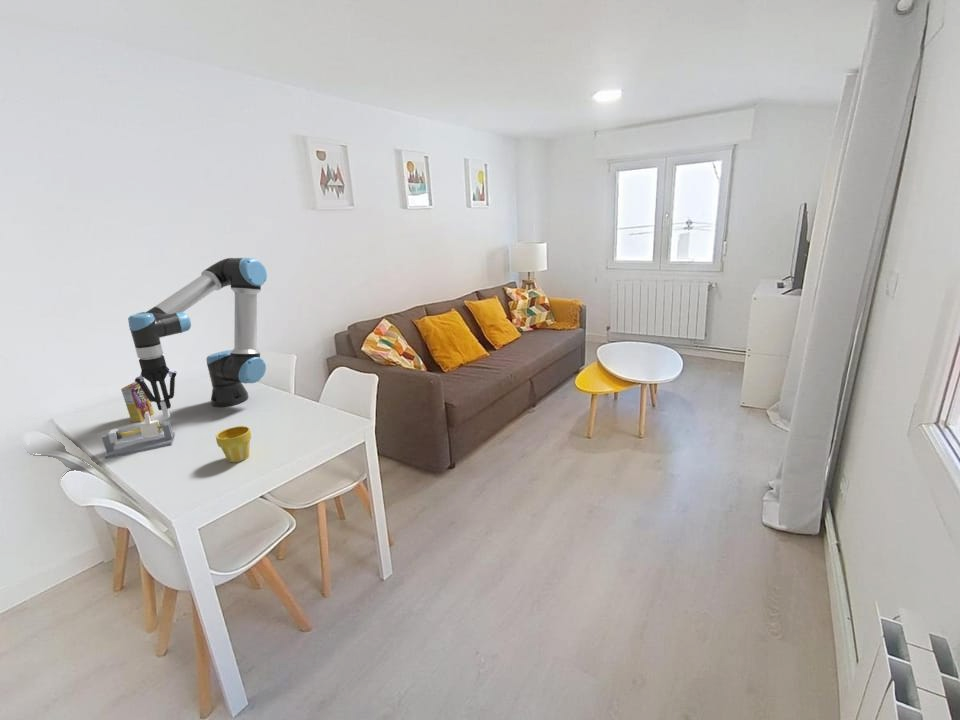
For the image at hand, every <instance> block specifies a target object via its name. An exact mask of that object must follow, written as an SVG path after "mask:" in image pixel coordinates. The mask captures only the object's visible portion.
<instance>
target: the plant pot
mask: <svg viewBox="0 0 960 720" xmlns="http://www.w3.org/2000/svg"><path fill="white" fill-rule="evenodd" d="M251 439H252V433H251V429H250V427H248V426H246V425H245V426H244V425H241V426H233V427H228V428H226V429H223V430H221V431H219V432H218V433H217V434H216V435H215V440H216V444H217V447H219V448H220V449H221V451H222V452H223V454H224V455H225V458H226V460H227V461H228V462H230V463H240V462H243V461H245V460H247V459H248V458H249V457H250V442H251Z"/></svg>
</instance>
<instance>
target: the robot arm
mask: <svg viewBox="0 0 960 720" xmlns="http://www.w3.org/2000/svg"><path fill="white" fill-rule="evenodd" d="M267 278H268V272H267V269H266V267H265V266H264V264H263V263H262V262H261V261H260V260H259V259H257V258H254V257H253V258H252V257H251V258H250V257H228V258H223V259H221V260H219V261H217V262H215V263H214V264H212V265H210V266H208V267H207V268H206V269H204V270H203V271H201V275H200V276H198V277H197V278H195V279H193V280H192V281H191V282H190V283H188V284H186V285H185V286H184V287H182V288H180V289H179V290H178V291H176V292H174V293H173V294H171V295H170V296H167V298H165V299H164V300H163V301H161V302H159V303H158V304H155V306H153V307H151V308H150V309H148V310H147V311H142V312H138V313H136V314H132V315H129V317H128V327H129V330H130V334H131V337H132V340H133V344H134V347H135V351H136V354H137V355H136V356H137V358H138V359H139V360H138V362H139V366H140V370H141V372H140V375H139V376H137V377H135V378H134V382H137V383H138V384H139V385H140V386H141V388H142V390H143V391H144V393H145V394H146V396H147V398H148V399H149V401H150V402H151V403H153V402H154V403H156V405H157V409H158V411H162V415H163V419H170V416H171V414H170V413H171V412H170V411H169V410H170V409H171V406H172V405H171V401H170V400H171V399H173V398H174V396H175V386H176V385H175V384H176V376H177V374H178V371H175V370H174V371H173V370H170V368H168V366H167V363H166V359H165V356H164V355H163V354H164V351H163V348H162V343H161V338H164V337H168V336H173V335H177V334H182V333H184V332H187V331H189V330H190V329H191V327H192V322H191V321H192V320H191V318H190V317H189V315H188V314H187V313H186V312H185V311H186V310H188V309H189V308H191V307H193V306H194V305H196V304H197V303H199V301H201V300H203V299H204V298H205V297H207V296H208V295H210V294H211V293H212V292H214V291H220V290H221V289H222V288H225V287H228V286H230V290H232V291H233V293H234V333H233V334H234V335H233V336H234V342H233V344H234V346H233V347H234V348H233V349H232V350H231V349H229V350H224V351H219V352H215V353H212V354H209V355H207V357H206V359H205V360H206V366H207V368H208V369H207V370H208V373H209V378H210V381H211V386H212V390H211V397H210V401H211V405H212V406H213V407H216V408H219V407H220V408H225V407H230V406H234V405H238V404H241V403H243V402H245V401H247V400H248V399H249V392H248V391H247V389H246V388H245V386H244V385H243V384H255V383H257V382H259V381H261V379H262V378H263V377H264V376H265V373H266V370H267V366H266V365H267V364H266V363H265V361H264V360H263V359H262V358H261V352H260V351H259V350H258V348H257V327H258V326H257V323H258V321H257V316H258V315H257V314H258V312H257V311H258V309H257V308H258V307H257V306H258V299H257V298H258V294H259V293H260V292H261V290H262V289H261V287H262V285H265V282H266V281H267ZM167 376H168V377H170V379H169V393H168V387H167V385H166V380H165V379H166V378H167ZM145 379H146V380H147V381H148V382H149V383H150V386H151V388H152V389H151V390H152V391H151V390H150V388H149V387H148V385H147V384H146V383H147V382H145ZM157 382H158V384H159V385H160V390H161V393H162V396H163V399H162V398H161V395H160V391H159V388H158V387H159V386H158V384H157Z"/></svg>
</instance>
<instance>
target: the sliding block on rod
mask: <svg viewBox="0 0 960 720" xmlns="http://www.w3.org/2000/svg"><path fill="white" fill-rule="evenodd" d="M159 425H160V424H159ZM158 429H161V430H162V431H163V434H159V435H156V436H151V437H146V438H143V437H142V438H138V439H133V440H128V441H124V442H119V441H120V440H121V439H122V438H123V437H124V436H129V435H134V434H139V433H141V430H140V428H139V429H135V430H130V431H124V432H122V431H121V430H119V429H118V428H114V429H110V430H109V432H104V433H103V435H102V436H101V439H102V443H103V446H104V449H105V451H106V453H105V455H104V456H103V457H104V459H110V458H111V459H112V458H116V457H120V456H125V455H126V456H127V455H131V454H134V453H138V452H140V453H141V452H145V451H149V450H154V449H159V448H164V447H168V446H172V445H173V443H174V439H175V436H176V433H175V431H173V428H172V425H171V421H170V420H168V421H163V423H162V424H161V425H160V426H158ZM141 434H142V433H141Z"/></svg>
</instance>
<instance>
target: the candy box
mask: <svg viewBox="0 0 960 720" xmlns="http://www.w3.org/2000/svg"><path fill="white" fill-rule="evenodd" d="M121 393H122V397H123V400H124V402H125V406H126V409H127V411H128V414H129V418H130V421H131V422H132V423H141V422H143V421H145V417H144V415H145V413H146V412H149V415H150V416H152V415H153V414H154V413H155V411H154V408H153V404H152V402H150V401H149V399H148V398H147V396H146V394H145V393H144V391H143V390H142V388H141V386H140V385H139V384H138V383H137V382H135V381H134V382H131V383H130V384H128V385H126V386H124V387H122V388H121Z"/></svg>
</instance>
